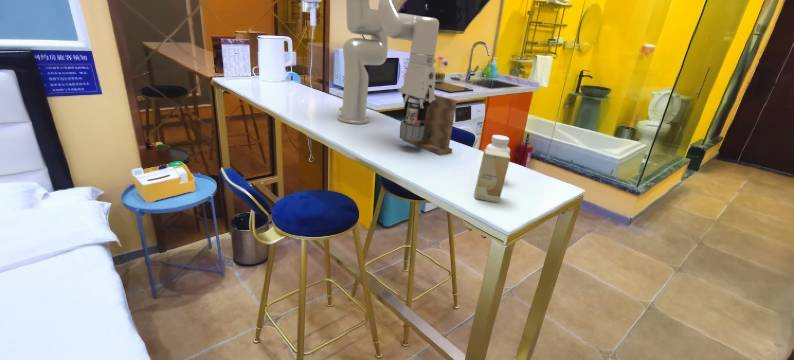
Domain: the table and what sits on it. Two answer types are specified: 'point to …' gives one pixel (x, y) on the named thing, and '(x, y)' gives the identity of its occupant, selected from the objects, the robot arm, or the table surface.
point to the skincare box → (491, 175)
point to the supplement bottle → (499, 143)
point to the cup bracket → (432, 127)
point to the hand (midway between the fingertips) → (414, 117)
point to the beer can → (412, 111)
